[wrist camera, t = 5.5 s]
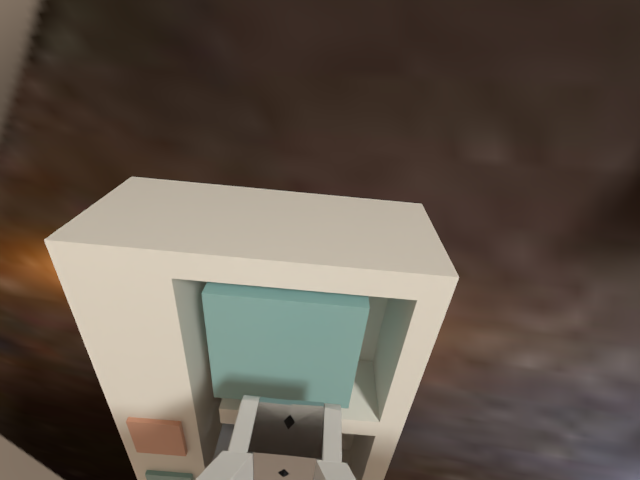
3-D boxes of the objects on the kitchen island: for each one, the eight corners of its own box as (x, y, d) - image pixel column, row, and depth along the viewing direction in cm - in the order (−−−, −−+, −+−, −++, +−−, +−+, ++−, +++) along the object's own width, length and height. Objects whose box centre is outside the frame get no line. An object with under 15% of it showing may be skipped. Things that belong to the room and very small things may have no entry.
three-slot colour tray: (347, 482, 27) (350, 572, 22) (193, 470, 27) (165, 558, 22) (421, 203, 14) (461, 281, 10) (131, 176, 14) (38, 243, 10)
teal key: (345, 347, 16) (348, 408, 13) (233, 337, 16) (214, 397, 13) (362, 254, 13) (369, 308, 11) (227, 242, 13) (201, 293, 11)
